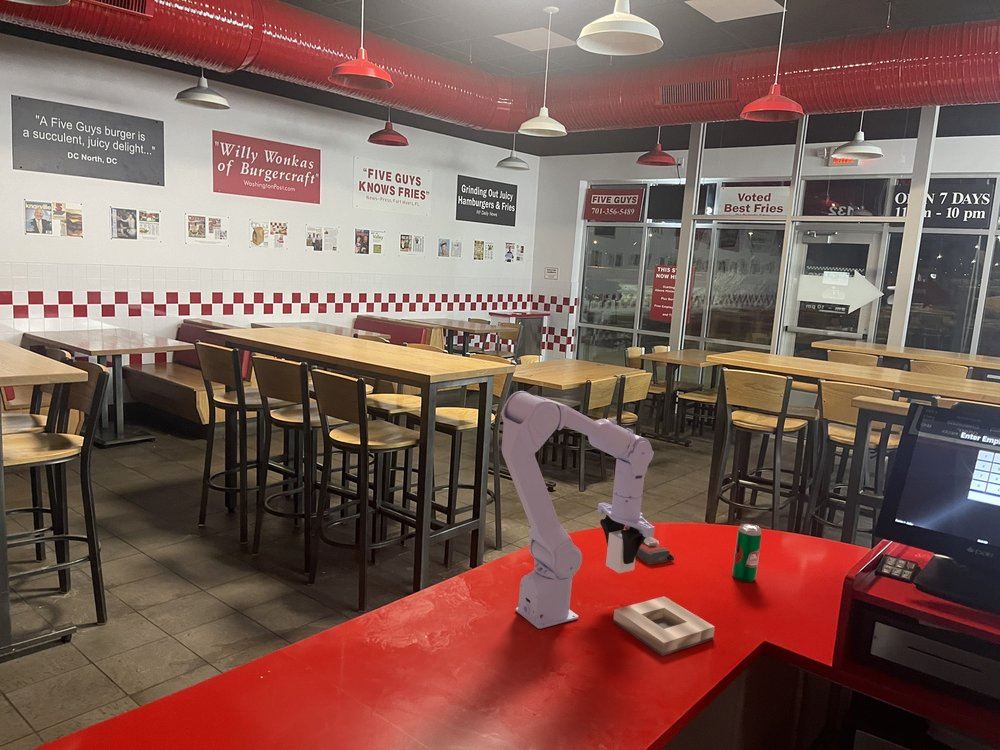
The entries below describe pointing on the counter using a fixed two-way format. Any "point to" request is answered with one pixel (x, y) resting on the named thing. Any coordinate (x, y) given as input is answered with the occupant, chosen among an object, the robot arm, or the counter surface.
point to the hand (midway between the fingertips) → (620, 558)
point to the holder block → (663, 625)
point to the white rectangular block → (617, 553)
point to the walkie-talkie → (653, 551)
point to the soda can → (747, 552)
